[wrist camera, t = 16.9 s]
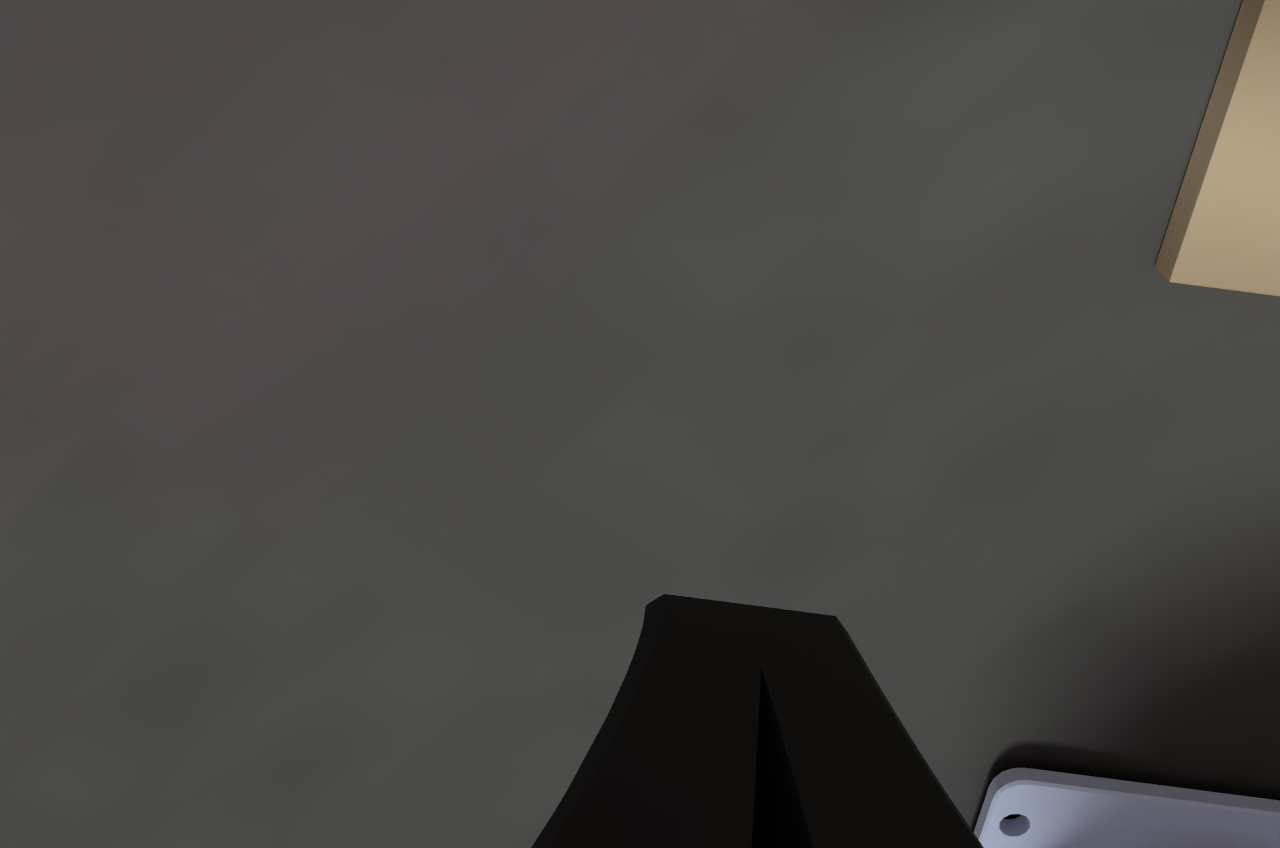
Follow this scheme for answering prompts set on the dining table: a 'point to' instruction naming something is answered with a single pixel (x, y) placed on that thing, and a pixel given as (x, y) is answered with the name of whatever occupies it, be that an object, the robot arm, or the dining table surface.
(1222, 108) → the oak board
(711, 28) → the dining table surface
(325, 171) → the dining table surface
